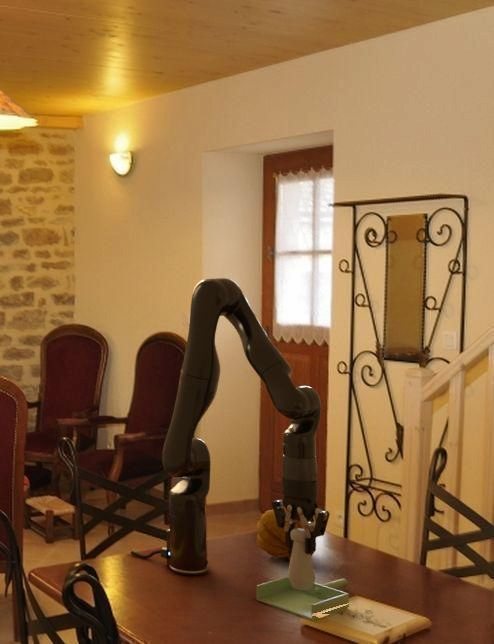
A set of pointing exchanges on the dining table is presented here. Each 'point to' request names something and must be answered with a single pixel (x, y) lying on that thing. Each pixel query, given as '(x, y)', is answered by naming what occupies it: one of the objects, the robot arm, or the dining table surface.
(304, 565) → the salt shaker
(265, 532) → the pumpkin
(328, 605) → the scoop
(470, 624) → the dining table surface
